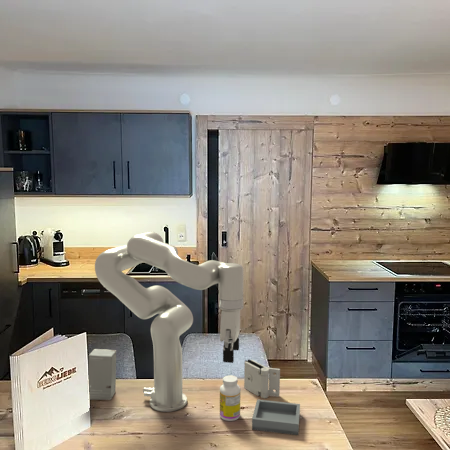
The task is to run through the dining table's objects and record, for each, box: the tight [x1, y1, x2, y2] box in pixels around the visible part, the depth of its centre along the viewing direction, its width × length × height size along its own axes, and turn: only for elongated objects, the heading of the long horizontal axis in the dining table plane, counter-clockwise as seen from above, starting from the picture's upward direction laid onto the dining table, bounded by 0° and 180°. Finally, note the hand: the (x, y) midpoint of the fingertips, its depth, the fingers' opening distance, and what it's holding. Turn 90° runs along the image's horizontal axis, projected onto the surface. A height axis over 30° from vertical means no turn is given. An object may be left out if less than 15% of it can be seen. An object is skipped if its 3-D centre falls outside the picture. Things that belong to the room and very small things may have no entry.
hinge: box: [243, 358, 281, 399], centre depth 161 cm, size 14×5×10 cm, turn 51°
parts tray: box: [251, 398, 301, 436], centre depth 143 cm, size 14×12×4 cm
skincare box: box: [87, 348, 117, 401], centre depth 158 cm, size 8×7×16 cm
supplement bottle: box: [219, 374, 241, 422], centre depth 146 cm, size 7×7×13 cm
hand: (231, 355), depth 144 cm, fingers open, 9 cm apart
